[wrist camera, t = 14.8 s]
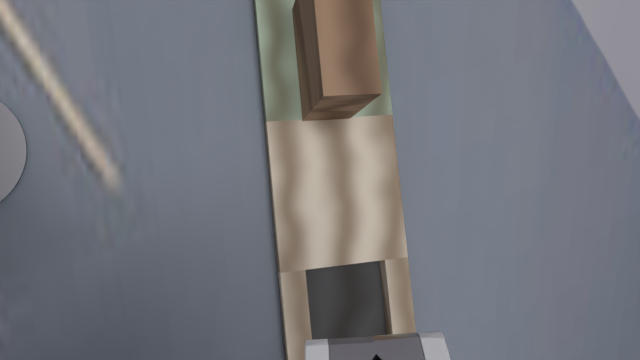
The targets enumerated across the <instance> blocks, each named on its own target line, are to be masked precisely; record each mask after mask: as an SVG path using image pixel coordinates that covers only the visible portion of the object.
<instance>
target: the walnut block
mask: <svg viewBox="0 0 640 360" xmlns="http://www.w3.org/2000/svg"><path fill="white" fill-rule="evenodd" d="M292 14H293V25H294V36H295V46H296V57H297V68H298V78H299V89H300V99H301V110H302V121H314V120H333V119H350V118H351V117H353V116H354V115H355V114H356V113H358V112H359V111H360V110H362V109H363V108H364V107H365V106H367V105H368V104H369V103H371V102H372V101H373V100H374V99H376V98H377V97H378V96H380V95H381V94H382V89H381V79H380V69H379V60H378V50H377V41H376V31H375V22H374V12H373V3H372V0H295V2H294V5H293V8H292Z"/></svg>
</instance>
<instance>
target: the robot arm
mask: <svg viewBox="0 0 640 360" xmlns="http://www.w3.org/2000/svg"><path fill="white" fill-rule="evenodd" d="M25 162H26V140H25V136H24V133H23V130H22V128H21V125H20V124H19V122H18V120H17V119H16V117H15V116H14V114H13V113H12V112H11V111H10V110H9V109H8V108H7V107H6V106H5V105H4V104H3V103H1V102H0V201H2V200H3V199H4V198H5V197H6V196H7V195H8V194H9V193H10V192H11V191H12V190H13V188H14V187H15V185H16V184H17V182H18V181H19V179H20V177H21V175H22V172H23V169H24V166H25ZM305 360H451V359H450V356H449V352H448V349H447V346H446V342H445V339H444V336H443V334H442V333H441V332H440V331H437V332H426V333H403V334H391V335H379V336H373V337H358V338H336V339H329V341H328V339H315V340H306V341H305Z"/></svg>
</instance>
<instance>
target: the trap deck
mask: <svg viewBox="0 0 640 360" xmlns="http://www.w3.org/2000/svg"><path fill="white" fill-rule="evenodd" d="M294 2H295V0H253V3H254V14H255V25H256V36H257V48H258V59H259V70H260V81H261V92H262V103H263V114H264V125H265V136H266V147H267V158H268V169H269V180H270V191H271V202H272V213H273V224H274V235H275V246H276V257H277V268H278V280H279V291H280V302H281V313H282V324H283V335H284V346H285V357H286V360H305V341H306V340H315V339H328V341H329V339H336V338H358V337H373V336H379V335H391V334H403V333H416V328H415V319H414V310H413V301H412V291H411V282H410V273H409V264H408V254H407V245H406V236H405V226H404V217H403V208H402V199H401V189H400V180H399V171H398V162H397V152H396V143H395V134H394V125H393V115H392V106H391V97H390V88H389V78H388V69H387V60H386V50H385V41H384V32H383V23H382V13H381V4H380V0H372V3H373V12H374V22H375V31H376V41H377V50H378V60H379V69H380V79H381V89H382V94H381V95H380V96H378V97H377V98H376V99H374V100H373V101H372V102H371V103H369V104H368V105H367V106H365V107H364V108H363V109H362V110H360V111H359V112H358V113H356V114H355V115H354V116H353V117H351V118H350V119H333V120H314V121H302V110H301V99H300V89H299V78H298V68H297V57H296V46H295V36H294V25H293V14H292V8H293V5H294Z"/></svg>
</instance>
